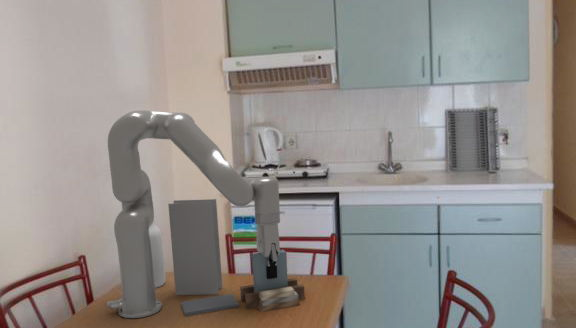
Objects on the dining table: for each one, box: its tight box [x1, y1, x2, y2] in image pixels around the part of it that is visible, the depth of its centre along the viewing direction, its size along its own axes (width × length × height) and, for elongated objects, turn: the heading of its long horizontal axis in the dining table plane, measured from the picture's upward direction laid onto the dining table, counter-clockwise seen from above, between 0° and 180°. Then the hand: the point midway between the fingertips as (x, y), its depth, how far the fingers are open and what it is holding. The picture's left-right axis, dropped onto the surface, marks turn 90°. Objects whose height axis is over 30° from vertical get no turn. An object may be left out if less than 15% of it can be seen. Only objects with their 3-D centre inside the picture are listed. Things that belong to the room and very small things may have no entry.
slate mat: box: [180, 293, 240, 317], centre depth 157 cm, size 16×9×1 cm, turn 108°
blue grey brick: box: [251, 249, 289, 292], centre depth 159 cm, size 10×3×14 cm, turn 108°
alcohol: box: [149, 219, 166, 289], centre depth 177 cm, size 9×9×30 cm
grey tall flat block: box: [168, 198, 223, 296], centre depth 168 cm, size 14×6×30 cm, turn 84°
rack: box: [239, 277, 306, 310], centre depth 160 cm, size 18×8×4 cm, turn 108°
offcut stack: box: [257, 287, 301, 313], centre depth 154 cm, size 12×4×5 cm, turn 108°
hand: (270, 275), depth 159 cm, fingers closed on blue grey brick, 3 cm apart
